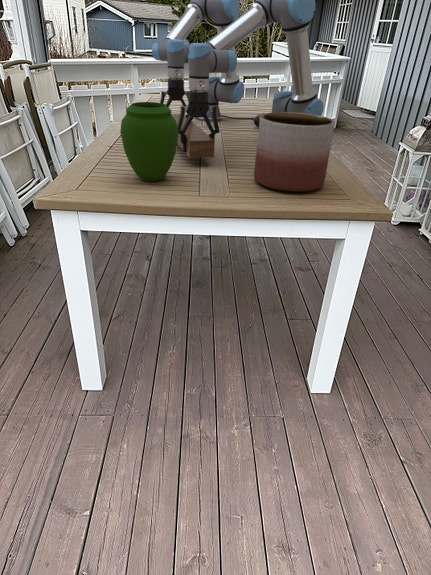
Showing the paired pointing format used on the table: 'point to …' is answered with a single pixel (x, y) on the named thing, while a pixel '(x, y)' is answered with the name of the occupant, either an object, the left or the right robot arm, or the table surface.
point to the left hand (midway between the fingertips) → (176, 129)
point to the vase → (149, 139)
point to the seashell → (257, 119)
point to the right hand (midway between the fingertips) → (197, 151)
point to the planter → (293, 151)
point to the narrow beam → (196, 140)
